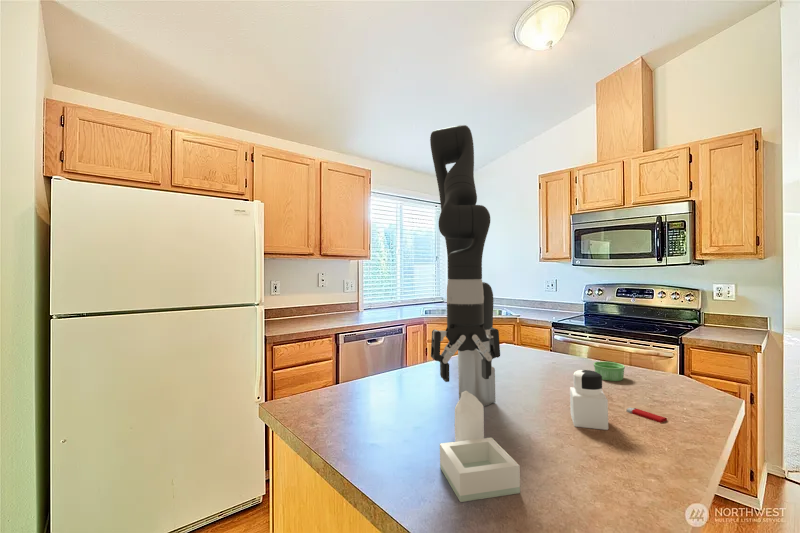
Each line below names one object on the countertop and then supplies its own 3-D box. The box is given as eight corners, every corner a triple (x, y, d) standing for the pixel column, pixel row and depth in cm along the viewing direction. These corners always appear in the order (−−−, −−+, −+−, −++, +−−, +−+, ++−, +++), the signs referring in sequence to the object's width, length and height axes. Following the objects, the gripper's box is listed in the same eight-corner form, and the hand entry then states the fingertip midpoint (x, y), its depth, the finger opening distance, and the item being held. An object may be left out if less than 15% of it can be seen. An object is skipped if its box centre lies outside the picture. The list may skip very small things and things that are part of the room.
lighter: (660, 419, 86) (625, 408, 93) (660, 425, 86) (626, 413, 93) (666, 417, 87) (632, 406, 95) (667, 422, 87) (632, 411, 95)
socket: (492, 460, 71) (491, 437, 71) (520, 493, 60) (519, 465, 60) (440, 467, 69) (439, 443, 69) (460, 502, 58) (459, 473, 58)
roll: (485, 387, 78) (481, 396, 72) (486, 444, 77) (482, 457, 72) (457, 384, 80) (451, 392, 74) (458, 440, 80) (452, 452, 74)
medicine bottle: (602, 418, 89) (601, 368, 89) (608, 430, 83) (607, 377, 83) (570, 415, 92) (569, 367, 92) (573, 426, 85) (572, 374, 85)
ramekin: (631, 381, 117) (630, 368, 117) (602, 382, 117) (602, 368, 117) (615, 373, 126) (614, 361, 126) (588, 374, 126) (588, 361, 126)
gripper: (489, 299, 81) (490, 372, 81) (427, 300, 79) (427, 376, 78) (505, 301, 74) (506, 382, 74) (437, 303, 71) (437, 387, 71)
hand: (465, 379), depth 76 cm, fingers open, 8 cm apart
